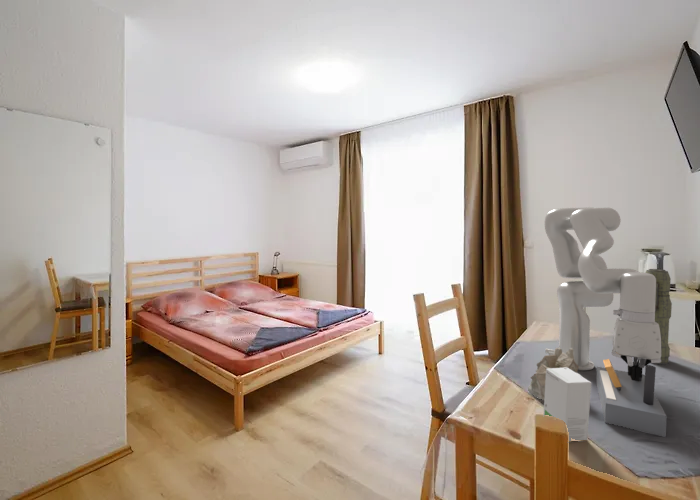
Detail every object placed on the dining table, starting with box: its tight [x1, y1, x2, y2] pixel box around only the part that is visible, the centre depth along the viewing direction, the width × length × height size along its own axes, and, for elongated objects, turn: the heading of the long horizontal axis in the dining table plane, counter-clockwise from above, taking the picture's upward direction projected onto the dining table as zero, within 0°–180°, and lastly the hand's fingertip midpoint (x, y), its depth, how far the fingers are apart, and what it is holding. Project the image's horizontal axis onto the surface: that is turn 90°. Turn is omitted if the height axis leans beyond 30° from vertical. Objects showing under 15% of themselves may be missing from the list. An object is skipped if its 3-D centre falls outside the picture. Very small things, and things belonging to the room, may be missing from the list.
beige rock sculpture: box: [527, 347, 579, 401], centre depth 106 cm, size 16×16×15 cm
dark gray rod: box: [643, 364, 657, 405], centre depth 87 cm, size 2×2×10 cm
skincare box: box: [543, 367, 592, 441], centre depth 84 cm, size 8×7×16 cm
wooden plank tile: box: [602, 358, 622, 391], centre depth 97 cm, size 2×6×7 cm, turn 146°
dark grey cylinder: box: [633, 357, 642, 382], centre depth 100 cm, size 2×2×10 cm
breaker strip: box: [595, 366, 668, 438], centre depth 96 cm, size 12×26×6 cm, turn 147°
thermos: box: [644, 268, 673, 365], centre depth 126 cm, size 9×12×35 cm
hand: (634, 378), depth 94 cm, fingers closed
